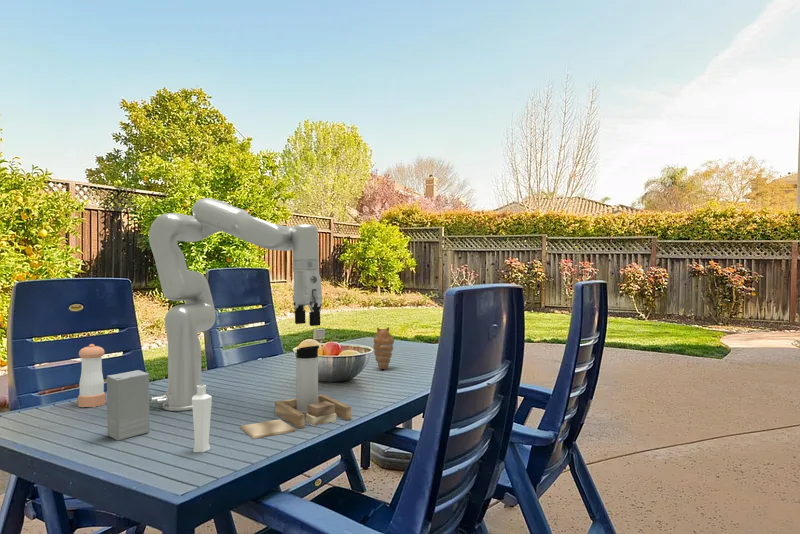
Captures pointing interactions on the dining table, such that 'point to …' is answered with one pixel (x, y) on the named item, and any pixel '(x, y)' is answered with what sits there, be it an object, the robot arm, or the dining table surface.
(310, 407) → the offcut upper
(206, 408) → the perfume bottle
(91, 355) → the pepper shaker
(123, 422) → the skincare box
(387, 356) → the cat ice cream
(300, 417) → the frame
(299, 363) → the travel mug
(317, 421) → the offcut lower
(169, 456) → the dining table surface
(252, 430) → the cork mat
